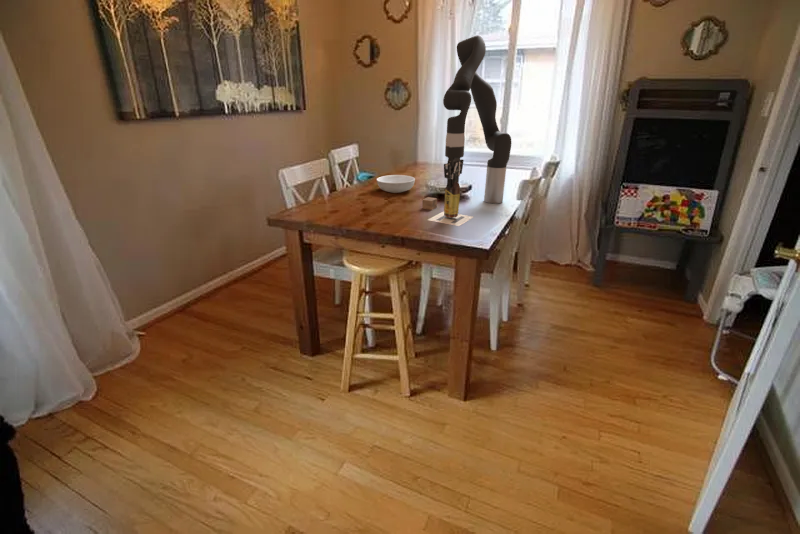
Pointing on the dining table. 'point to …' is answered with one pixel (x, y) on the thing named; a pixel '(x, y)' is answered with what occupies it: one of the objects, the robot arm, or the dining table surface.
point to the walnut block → (429, 203)
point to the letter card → (451, 219)
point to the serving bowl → (395, 183)
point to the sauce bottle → (452, 198)
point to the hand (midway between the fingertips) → (452, 186)
